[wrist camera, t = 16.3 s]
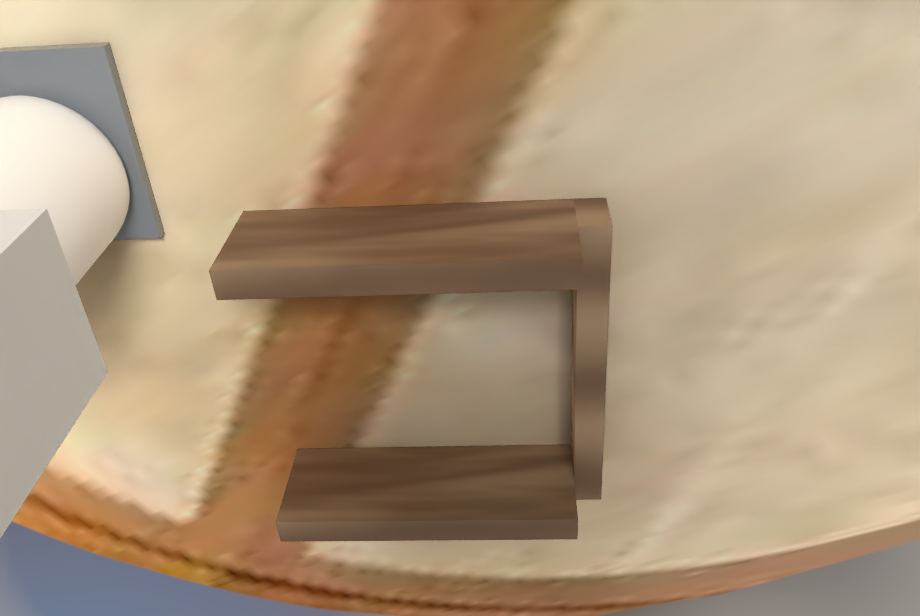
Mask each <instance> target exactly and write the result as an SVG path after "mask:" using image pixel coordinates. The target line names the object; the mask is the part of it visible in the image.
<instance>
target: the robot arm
mask: <svg viewBox="0 0 920 616" xmlns="http://www.w3.org/2000/svg"><path fill="white" fill-rule="evenodd" d="M107 373H108V371H107V369H106V366H105V363H104V361H103V358H102V355H101V353H100V350H99V347H98V345H97V342H96V339H95V336H94V334H93V331H92V328H91V326H90V323H89V320H88V318H87V315H86V312H85V310H84V307H83V304H82V302H81V299H80V296H79V293H78V291H77V288H76V285H75V283H74V280H73V277H72V275H71V272H70V269H69V267H68V264H67V261H66V258H65V256H64V253H63V250H62V248H61V245H60V242H59V240H58V237H57V234H56V232H55V229H54V226H53V223H52V221H51V218H50V215H49V213H48V210H47V208H46V209H20V210H0V538H1V536H2V535H3V533H4V532H5V530H6V529H7V527H8V526H9V524H10V522H11V521H12V519H13V518H14V516H15V515H16V513H17V512H18V510H19V509H20V507H21V505H22V504H23V502H24V501H25V499H26V498H27V496H28V495H29V493H30V492H31V490H32V488H33V487H34V485H35V484H36V482H37V481H38V479H39V478H40V476H41V475H42V473H43V471H44V470H45V468H46V467H47V465H48V464H49V462H50V461H51V459H52V458H53V456H54V454H55V453H56V451H57V450H58V448H59V447H60V445H61V444H62V442H63V441H64V439H65V437H66V436H67V434H68V433H69V431H70V430H71V428H72V427H73V425H74V424H75V422H76V420H77V419H78V417H79V416H80V414H81V413H82V411H83V410H84V408H85V407H86V405H87V403H88V402H89V400H90V399H91V397H92V396H93V394H94V393H95V391H96V390H97V388H98V386H99V385H100V383H101V382H102V380H103V379H104V377H105V376H106V374H107Z"/></svg>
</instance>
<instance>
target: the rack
mask: <svg viewBox="0 0 920 616" xmlns="http://www.w3.org/2000/svg"><path fill="white" fill-rule="evenodd" d="M611 244H612V223H611V218H610V214H609V209H608V205H607V201H606V198H588V199H561V200H534V201H507V202H480V203H453V204H426V205H399V206H372V207H345V208H319V209H292V210H265V211H243V213H242V215H241V216H240V218H239V220H238V221H237V223H236V225H235V227H234V228H233V230H232V232H231V234H230V235H229V237H228V239H227V241H226V242H225V244H224V246H223V247H222V249H221V251H220V253H219V254H218V256H217V258H216V260H215V261H214V263H213V265H212V267H211V268H210V270H209V272H210V276H211V280H212V284H213V287H214V291H215V295H216V299H217V300H236V299H270V298H304V297H338V296H373V295H407V294H441V293H475V292H509V291H543V290H573V304H572V386H571V445H521V446H458V447H394V448H331V449H298V450H297V453H296V457H295V460H294V463H293V467H292V470H291V473H290V477H289V480H288V483H287V487H286V490H285V493H284V497H283V500H282V503H281V507H280V510H279V513H278V517H277V520H276V525H277V528H278V532H279V536H280V540H281V541H399V540H531V539H577V535H578V516H577V505H576V500H583V499H601V489H602V464H603V440H604V415H605V391H606V366H607V342H608V317H609V293H610V268H611Z"/></svg>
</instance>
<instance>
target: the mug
mask: <svg viewBox="0 0 920 616" xmlns="http://www.w3.org/2000/svg"><path fill="white" fill-rule="evenodd" d="M129 198H130V191H129V183H128V179H127V175H126V171H125V168H124V166H123V163H122V161H121V159H120V157H119V155H118V153H117V152H116V150H115V148H114V147H113V146H112V144H111V143H110V141H109V140H108V139H107V138H106V137H105V135H104V134H103V133H102V132H101V131H100V130H99V129H98V128H97V127H96V126H95V125H94V124H92V123H91V122H90V121H89V120H87V119H86V118H85V117H83V116H82V115H80V114H79V113H77V112H75V111H74V110H72V109H70V108H68V107H66V106H64V105H62V104H59V103H56V102H53V101H50V100H47V99H43V98H38V97H33V96H24V95H18V96H7V97H1V98H0V210H20V209H46V208H47V210H48V213H49V215H50V218H51V221H52V223H53V226H54V229H55V232H56V234H57V237H58V240H59V242H60V245H61V248H62V250H63V253H64V256H65V258H66V261H67V264H68V267H69V269H70V272H71V275H72V277H73V280H74V283H75V285H77V283H78V282H79V281H80V280H81V279H82V277H83V276H84V275H85V274H86V272H87V271H88V270H89V269H90V267H91V266H92V265H93V264H94V263H95V261H96V260H97V259H98V258H99V256H100V255H101V254H102V253H103V251H104V250H105V249H106V248H107V247H108V245H109V244H110V243H111V242H112V240H113V239H114V238H115V236H116V235H117V233H118V232H119V230H120V228H121V227H122V225H123V223H124V220H125V217H126V214H127V211H128V207H129Z"/></svg>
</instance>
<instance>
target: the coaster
mask: <svg viewBox="0 0 920 616" xmlns="http://www.w3.org/2000/svg"><path fill="white" fill-rule="evenodd" d="M18 95H24V96H33V97H38V98H43V99H47V100H50V101H53V102H56V103H59V104H62V105H64V106H66V107H68V108H70V109H72V110H74V111H75V112H77V113H79V114H80V115H82V116H83V117H85V118H86V119H87V120H89V121H90V122H91V123H92V124H94V125H95V126H96V127H97V128H98V129H99V130H100V131H101V132H102V133H103V134H104V135H105V137H106V138H107V139H108V140H109V141H110V143H111V144H112V146H113V147H114V148H115V150H116V152H117V153H118V155H119V157H120V159H121V161H122V163H123V166H124V168H125V171H126V175H127V179H128V183H129V191H130V198H129V207H128V211H127V214H126V217H125V220H124V223H123V225H122V227H121V228H120V230H119V232H118V233H117V235H116V236H115V238H114V239H113V240H132V239H161V237H162V236H163V234H164V230H163V226H162V223H161V219H160V216H159V212H158V209H157V206H156V202H155V199H154V195H153V192H152V188H151V185H150V182H149V178H148V175H147V171H146V168H145V164H144V161H143V157H142V154H141V151H140V147H139V144H138V140H137V137H136V133H135V130H134V127H133V123H132V120H131V116H130V113H129V109H128V106H127V103H126V99H125V96H124V92H123V89H122V85H121V82H120V78H119V75H118V72H117V68H116V65H115V61H114V58H113V54H112V51H111V48H110V44H109V43H90V44H71V45H52V46H33V47H14V48H0V98H1V97H7V96H18Z"/></svg>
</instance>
